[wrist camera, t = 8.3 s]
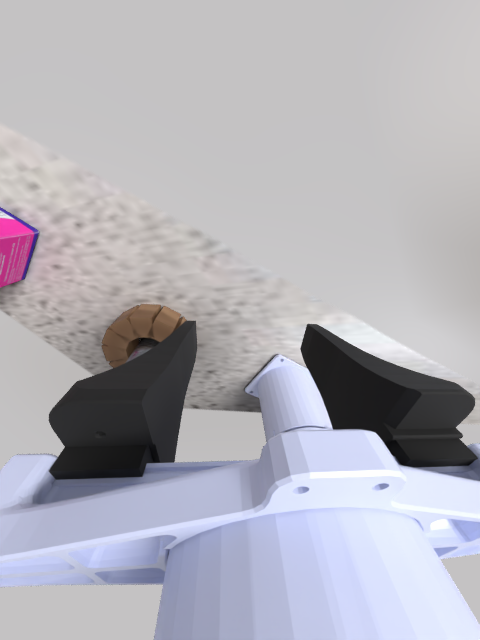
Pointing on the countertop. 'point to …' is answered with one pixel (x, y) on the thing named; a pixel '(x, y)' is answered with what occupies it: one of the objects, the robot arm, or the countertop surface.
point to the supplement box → (15, 247)
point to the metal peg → (143, 347)
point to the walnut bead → (138, 330)
